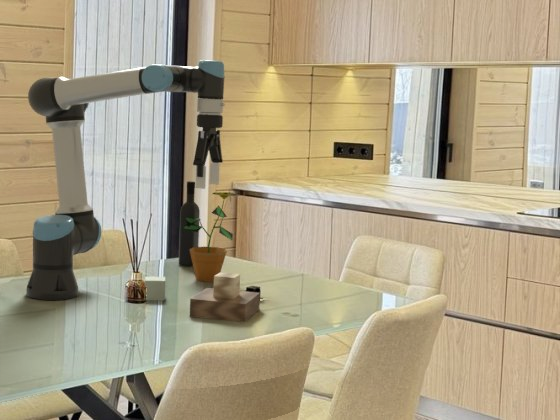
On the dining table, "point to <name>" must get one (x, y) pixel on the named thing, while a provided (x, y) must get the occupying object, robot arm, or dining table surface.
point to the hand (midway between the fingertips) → (207, 186)
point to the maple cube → (226, 285)
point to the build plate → (253, 289)
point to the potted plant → (208, 248)
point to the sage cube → (155, 288)
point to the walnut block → (224, 306)
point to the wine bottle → (187, 237)
